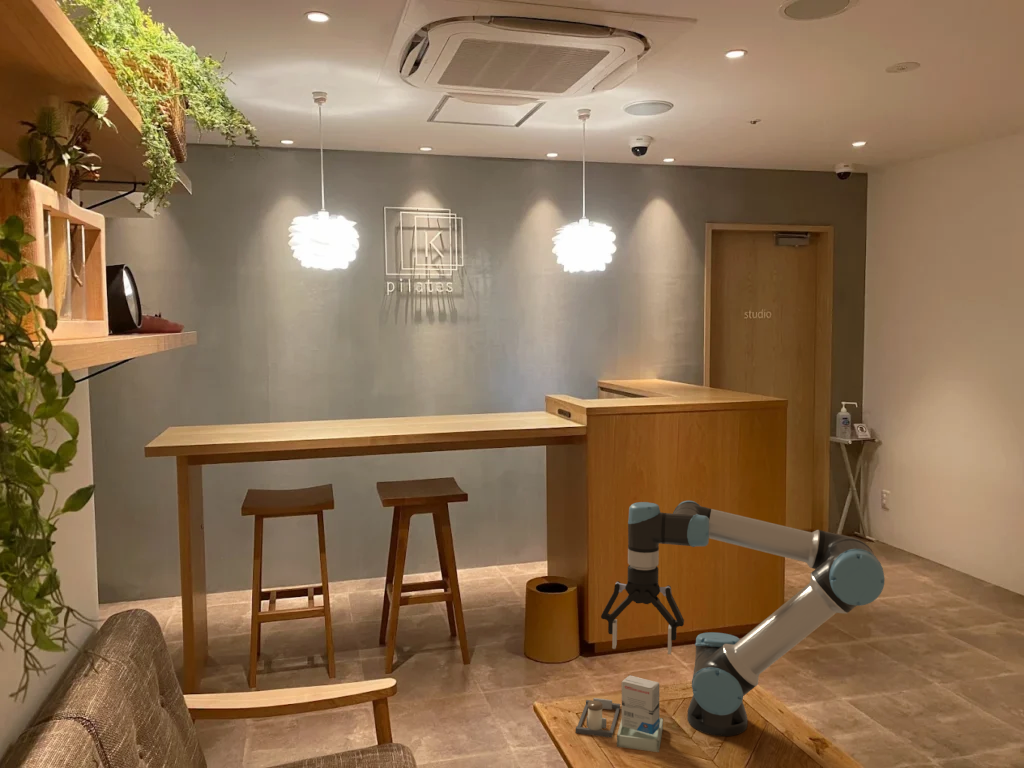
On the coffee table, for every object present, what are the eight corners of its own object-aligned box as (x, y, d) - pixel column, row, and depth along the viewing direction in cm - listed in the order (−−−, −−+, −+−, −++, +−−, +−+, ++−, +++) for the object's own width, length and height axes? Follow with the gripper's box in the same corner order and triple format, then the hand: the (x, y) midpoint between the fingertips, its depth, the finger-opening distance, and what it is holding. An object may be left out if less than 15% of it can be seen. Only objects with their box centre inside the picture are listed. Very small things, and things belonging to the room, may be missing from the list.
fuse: (603, 728, 211) (603, 701, 210) (601, 736, 207) (601, 708, 206) (588, 727, 212) (588, 699, 211) (586, 734, 208) (586, 706, 207)
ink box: (660, 727, 206) (661, 681, 205) (652, 735, 202) (653, 689, 201) (628, 718, 210) (629, 673, 210) (620, 726, 206) (621, 680, 205)
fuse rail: (620, 708, 222) (620, 699, 222) (611, 737, 206) (611, 728, 206) (586, 704, 224) (586, 695, 224) (575, 732, 209) (575, 723, 208)
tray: (662, 728, 211) (662, 718, 211) (658, 752, 199) (659, 741, 199) (622, 723, 213) (623, 713, 213) (616, 746, 202) (616, 735, 202)
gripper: (695, 565, 204) (693, 648, 205) (595, 557, 210) (594, 638, 211) (694, 574, 196) (692, 660, 198) (590, 566, 203) (589, 650, 204)
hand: (641, 649), depth 205 cm, fingers open, 13 cm apart
